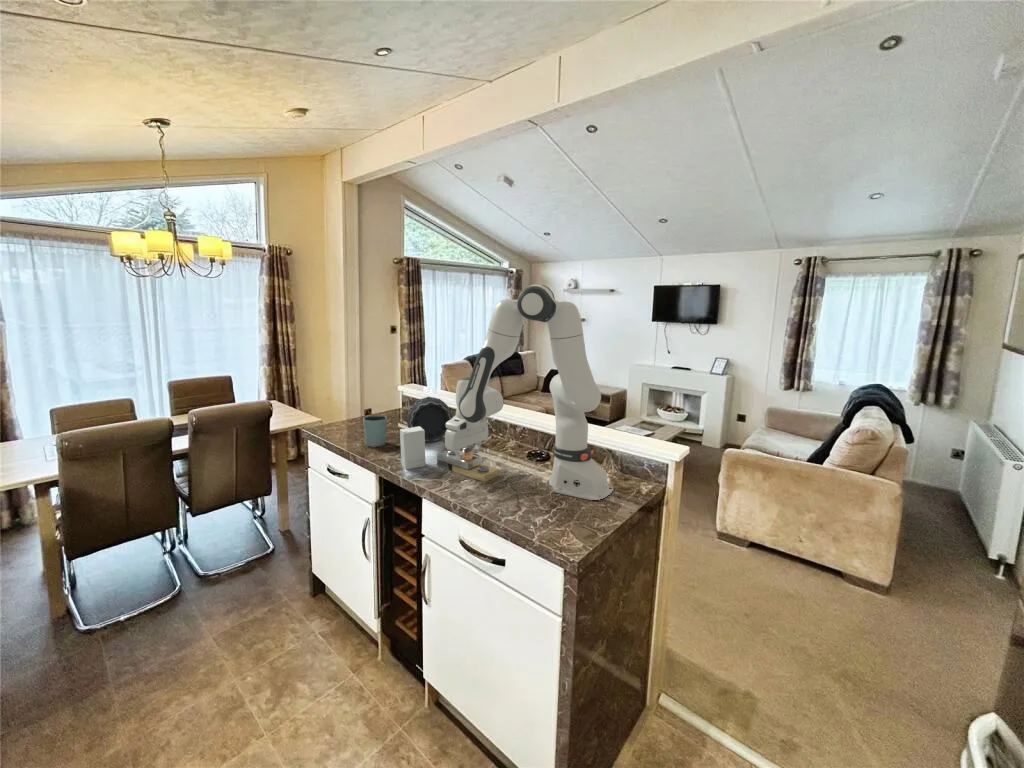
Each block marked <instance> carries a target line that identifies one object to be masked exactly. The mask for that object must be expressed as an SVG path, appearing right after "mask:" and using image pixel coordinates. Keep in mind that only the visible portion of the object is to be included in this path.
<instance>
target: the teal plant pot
mask: <svg viewBox="0 0 1024 768" xmlns="http://www.w3.org/2000/svg"><path fill="white" fill-rule="evenodd" d="M362 424H363V429H364V430H363V433H364V435H363V436H364V444H365V447H368V446H372V447H371V448H376V447H375V446H380V447H383V446H385V445H386V440H387V439H386V435H387V424H388V417H387V416H386V415H382V414H381V415H379V414H373V415H366V416H364V417H363V418H362ZM382 445H383V446H382Z"/></svg>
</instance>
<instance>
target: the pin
mask: <svg viewBox="0 0 1024 768" xmlns="http://www.w3.org/2000/svg"><path fill="white" fill-rule="evenodd" d="M473 448H474V447H473V446H472V445H469V446H466V447H463V448H461V451H462V460H465V461H470V460H473V455H474V452H473Z"/></svg>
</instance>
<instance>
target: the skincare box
mask: <svg viewBox="0 0 1024 768" xmlns="http://www.w3.org/2000/svg"><path fill="white" fill-rule="evenodd" d="M399 438H400V439H399V441H400V461H401V463H400V464H401V465H402V467H403V468H404V470H406V471H407V470H411V469H416V468H418V469H419V468H422V467H426V465H427V464H426V441H425V430H423V429H422V428H421V427H420V426H418V427H412V428H408V427H407V428H401V429H399Z"/></svg>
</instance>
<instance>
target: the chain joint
mask: <svg viewBox="0 0 1024 768" xmlns="http://www.w3.org/2000/svg"><path fill="white" fill-rule="evenodd" d="M436 453H437V452H436ZM459 453H460V454H461V455H462V450H460V451H459ZM436 457H437V458H436V459H437V460H436V462H437V464H436V465H437V466H436V467H439V468H441V469H445V470H451V471H452V472H454V473H457V474H459V475H462V476H466V477H468V478H471V479H473V480H474V479H475V480H478V481H480V482H482V483H485V482H488V481H490V480H493V479H495V478H497V477H498V476H499V474H500V469H498V468H497V467H496V468H495V467H493V466H490V465H486V464H484V463H483V457H482V456H478V455H475V454H473V460H470V461H465V460H462V459H460V460H457V459H456V455H455V453H454V451H450V450H447V449H446V450H444V451H443V450H442V451H441V452H438V453H437V454H436Z"/></svg>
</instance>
